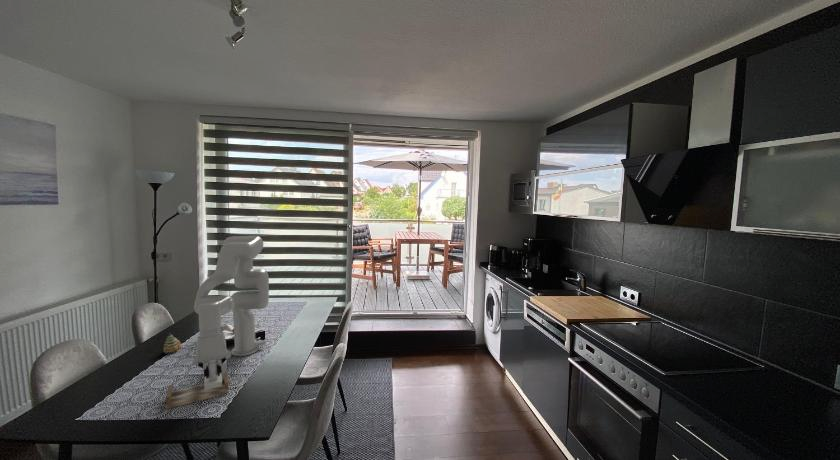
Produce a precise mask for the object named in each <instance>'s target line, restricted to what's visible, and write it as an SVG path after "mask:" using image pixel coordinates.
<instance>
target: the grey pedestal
mask: <svg viewBox="0 0 840 460" xmlns="http://www.w3.org/2000/svg"><path fill="white" fill-rule="evenodd" d="M207 363H208V377H209V378H208V379H206V377H205V376H204V382H203V384H204V389H205V390H209V389H213V388H217V387H220V386H222V374H220V376H218V372H217V360H211V361H207Z"/></svg>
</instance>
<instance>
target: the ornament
mask: <svg viewBox="0 0 840 460" xmlns="http://www.w3.org/2000/svg"><path fill="white" fill-rule="evenodd" d="M181 347H182V345H181V341H180V340H179V339H178V338H176V337H174V335H173V334H172V333H171V332H169V334H168V336H167V337H166V339H165V343H164V344H163V353H164V354H166V355H167V354H168V355H169V354H175V353H177V352H178V351H179V350H180V349H181Z"/></svg>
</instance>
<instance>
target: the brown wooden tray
mask: <svg viewBox="0 0 840 460" xmlns="http://www.w3.org/2000/svg"><path fill="white" fill-rule="evenodd" d="M225 394H229V379H228V372H227V373H224V379H222V386H220V387H217V388H213V389H209V390H205V389H204V383H202V384H198V385H194V386H190V387H186V388H181V389H177V390H173V385H168V387H167V391H166V395H165V404H166V410H169V409H172V408H177V407H180V406H184V405H187V404H192V403H195V402H199V401H202V400H207V399H211V398H214V397H217V396H221V395H225Z"/></svg>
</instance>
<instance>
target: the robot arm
mask: <svg viewBox="0 0 840 460" xmlns="http://www.w3.org/2000/svg"><path fill="white" fill-rule="evenodd" d="M263 248H264V241H263V239H262V238H261V236H257V235H255V236H254V235H249V236H247V235H246V236H245V235H243V236H239V235H236V236H229V237H226V238H225V239H224V244H222V245H221V248H220V251H219V255H218V259H217V261H216V266H215V270H214V272H213V273H212V274H211V275H209V276H208V278H206V279H204V281H203V282H202V284H201V285H200V286H199V287H198V290H197V292H196V296H195V299H194V305H193V310H194V311H195V313H196V314H198V325H199V326H198V329H199V335H198V336H197V340H196V355H195V357H194V359H193V360H192V364H191V365H193V366H197V367H199V368H201V369H202V370H203V376H204V377H205V376H206V379H208V378H209V377H208V366H207V361H211V360H218V364H217V372H218V376H220V373H221V372H222V370H221V365H222V364H223V363H224V362H225V361H227V360H228V359H230V358H231V357H232V356H235V357H244V356H250V355H252V354H254V353H257V352H258V350H259V349H260V346H264V345H266V340H262V339H259V340H257V339H256V325H255V323H256V322H255V319H256V318H255V315H254V313H253V311H252V310H261V309H266V308H267V307H268V305H269V301H270V299H269V298H270V297H269V296H270V293H269V292H270V291H269V290H270V289H269V288H270V287H269V286H270V285H269V284H270V283H269V282H270V280H269V274H268V272H267V270H266V269H263V268H261V269H260V268H258V269H257V268H256V269H254V267H253V265H254V261H253V260H254V259H256V258H257V256H259V254H260V253H261V252H262V250H263ZM232 279H233V283H234V286H235V288H238V289H256V290H239V291H238V290H237V291H235V292H234V293H232V294H231V296H230V295H209V294H210V292H211V291H212V290H213V289H214V288H215V287H217V286H219V285H221V284H223V283H226V282H228V281H231V280H232ZM208 295H209V296H208ZM231 311H232V316H233V319H232V320H233V340H234V348H232V350H231V352H230V351H229V350H228V349H227V340H226V336H225V334H226V333H225V332H224V331H227V330H226V326H223V325H222V316H223V315H226V314H229V313H231ZM221 358H222V359H221Z"/></svg>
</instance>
